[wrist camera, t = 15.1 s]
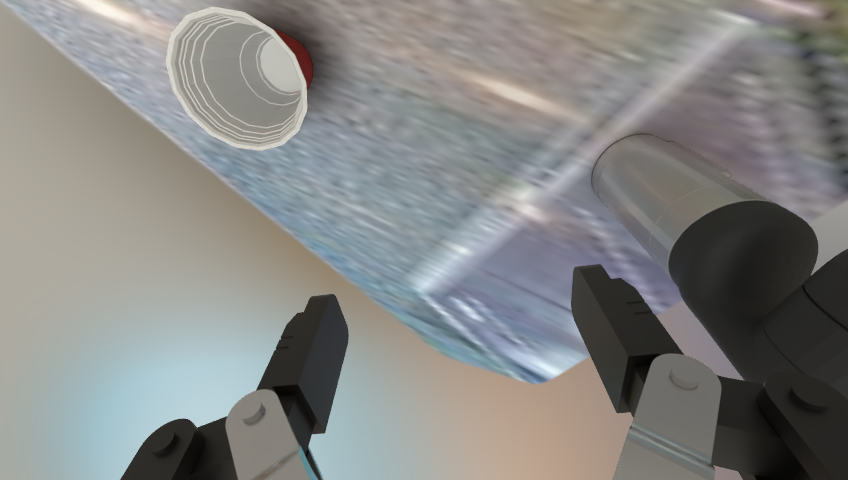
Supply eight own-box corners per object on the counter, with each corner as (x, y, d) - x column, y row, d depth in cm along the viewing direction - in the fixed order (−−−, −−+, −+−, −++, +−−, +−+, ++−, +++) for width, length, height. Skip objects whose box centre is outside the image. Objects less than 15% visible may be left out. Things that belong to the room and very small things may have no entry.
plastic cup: (278, 134, 43) (229, 172, 33) (214, 39, 38) (133, 50, 27) (357, 93, 40) (331, 121, 30) (300, -15, 35) (245, -25, 25)
